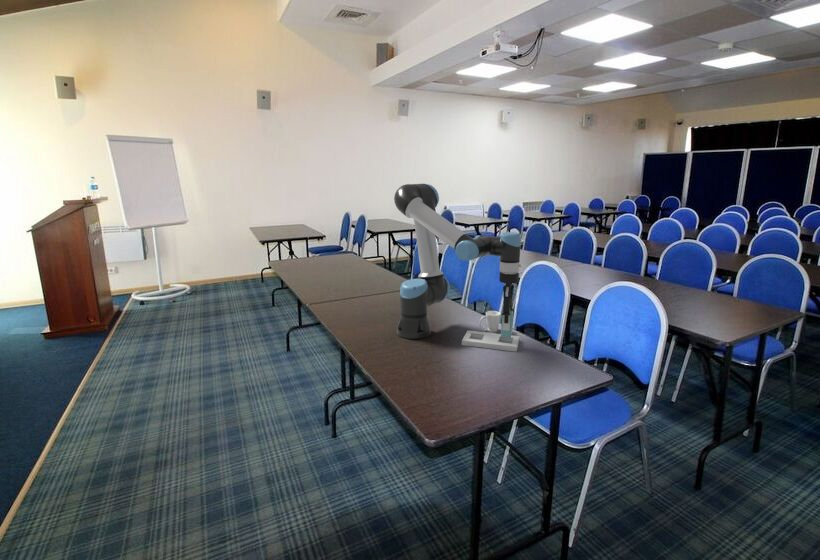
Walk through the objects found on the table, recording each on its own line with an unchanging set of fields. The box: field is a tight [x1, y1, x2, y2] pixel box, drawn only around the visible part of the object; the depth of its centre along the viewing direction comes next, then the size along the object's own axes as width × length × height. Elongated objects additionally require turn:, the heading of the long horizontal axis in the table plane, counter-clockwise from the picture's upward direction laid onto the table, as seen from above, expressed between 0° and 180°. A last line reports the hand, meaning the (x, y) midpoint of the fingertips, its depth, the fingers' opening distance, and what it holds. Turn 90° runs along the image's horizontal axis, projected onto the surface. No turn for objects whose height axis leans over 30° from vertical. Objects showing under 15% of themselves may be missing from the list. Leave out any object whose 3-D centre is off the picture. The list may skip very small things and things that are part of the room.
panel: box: [461, 330, 520, 353], centre depth 174 cm, size 22×12×2 cm, turn 71°
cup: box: [478, 310, 502, 333], centre depth 187 cm, size 7×10×8 cm
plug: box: [500, 310, 514, 338], centre depth 170 cm, size 4×4×12 cm
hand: (506, 328), depth 170 cm, fingers closed on plug, 4 cm apart
